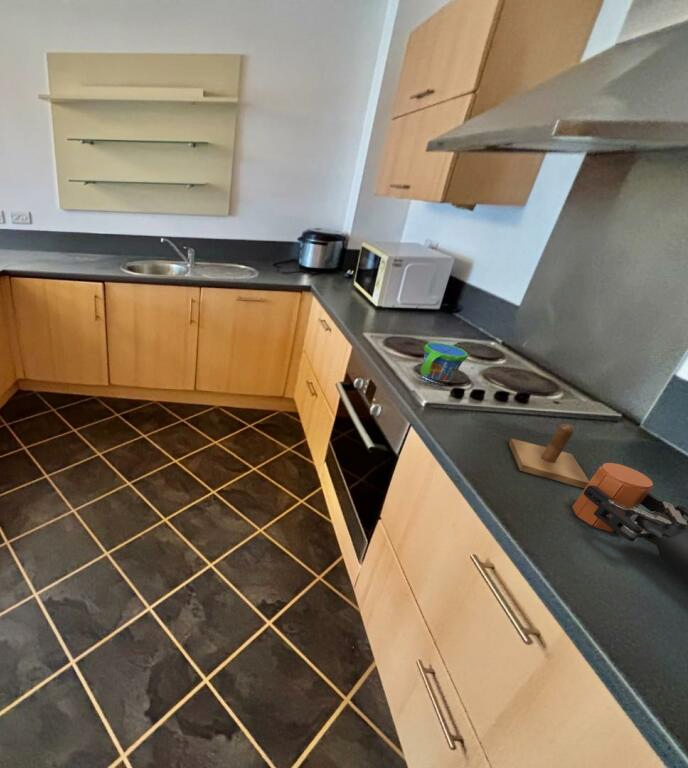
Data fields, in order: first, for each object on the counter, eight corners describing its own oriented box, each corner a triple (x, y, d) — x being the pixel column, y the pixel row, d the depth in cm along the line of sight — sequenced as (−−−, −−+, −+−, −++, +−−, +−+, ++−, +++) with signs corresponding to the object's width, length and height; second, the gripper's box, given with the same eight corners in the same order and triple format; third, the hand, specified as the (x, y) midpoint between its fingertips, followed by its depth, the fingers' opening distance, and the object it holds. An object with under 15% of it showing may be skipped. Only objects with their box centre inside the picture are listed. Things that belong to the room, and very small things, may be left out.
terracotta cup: (610, 513, 76) (642, 470, 71) (625, 536, 70) (661, 491, 66) (568, 500, 78) (596, 458, 73) (579, 522, 73) (611, 478, 68)
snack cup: (435, 370, 129) (447, 339, 125) (467, 385, 121) (482, 353, 116) (400, 376, 123) (411, 344, 119) (432, 392, 115) (446, 359, 110)
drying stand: (568, 459, 90) (593, 419, 85) (586, 489, 81) (615, 447, 77) (508, 443, 94) (529, 405, 89) (519, 470, 85) (543, 429, 81)
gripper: (789, 553, 56) (662, 474, 70) (690, 550, 55) (583, 471, 70) (750, 589, 60) (637, 507, 74) (656, 586, 59) (561, 504, 73)
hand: (611, 490), depth 72 cm, fingers open, 8 cm apart
